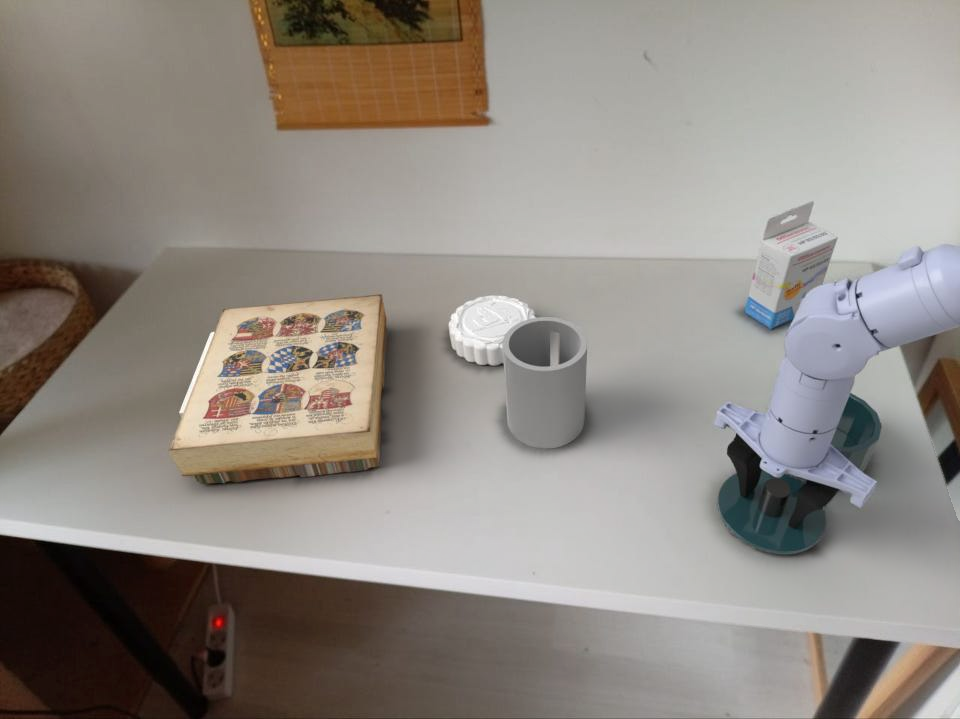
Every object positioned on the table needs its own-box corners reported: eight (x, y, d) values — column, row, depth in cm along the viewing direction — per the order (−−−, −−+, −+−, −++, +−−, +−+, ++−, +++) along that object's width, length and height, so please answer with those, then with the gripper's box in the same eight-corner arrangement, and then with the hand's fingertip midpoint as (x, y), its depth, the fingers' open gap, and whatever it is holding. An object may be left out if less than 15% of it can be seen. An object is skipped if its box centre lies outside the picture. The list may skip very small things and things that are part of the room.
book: (220, 339, 99) (163, 491, 77) (205, 303, 95) (141, 453, 73) (389, 323, 99) (379, 470, 77) (382, 286, 95) (370, 431, 73)
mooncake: (519, 304, 99) (518, 283, 97) (551, 353, 91) (550, 332, 88) (440, 324, 97) (437, 303, 95) (465, 376, 88) (462, 355, 86)
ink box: (771, 331, 91) (796, 235, 81) (743, 312, 94) (764, 218, 85) (816, 310, 94) (846, 214, 84) (787, 292, 97) (813, 198, 87)
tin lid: (845, 543, 66) (858, 516, 63) (749, 569, 65) (758, 543, 62) (785, 465, 74) (794, 439, 71) (698, 487, 72) (704, 461, 70)
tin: (885, 473, 72) (902, 438, 69) (803, 494, 71) (816, 460, 67) (829, 411, 79) (842, 377, 76) (754, 429, 78) (763, 396, 74)
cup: (516, 454, 78) (511, 377, 70) (501, 400, 85) (495, 324, 77) (593, 440, 78) (597, 362, 71) (572, 388, 85) (574, 311, 77)
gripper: (705, 394, 62) (686, 488, 71) (866, 482, 53) (822, 576, 62) (747, 356, 65) (724, 451, 74) (905, 433, 57) (858, 530, 66)
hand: (771, 505), depth 68 cm, fingers open, 5 cm apart
